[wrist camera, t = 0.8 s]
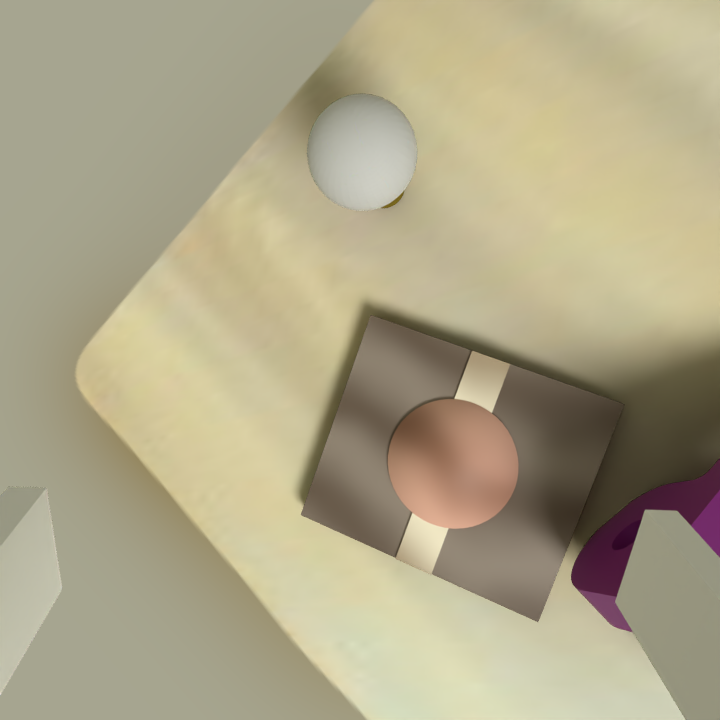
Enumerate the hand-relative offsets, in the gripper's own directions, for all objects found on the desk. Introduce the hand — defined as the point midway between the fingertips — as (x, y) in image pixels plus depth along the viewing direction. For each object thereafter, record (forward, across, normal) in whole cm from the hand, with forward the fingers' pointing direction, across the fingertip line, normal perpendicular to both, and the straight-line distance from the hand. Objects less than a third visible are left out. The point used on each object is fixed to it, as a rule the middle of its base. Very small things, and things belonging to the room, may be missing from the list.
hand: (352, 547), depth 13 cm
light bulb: (+29, +3, +5) cm, 29 cm away
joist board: (+21, +8, -10) cm, 24 cm away
